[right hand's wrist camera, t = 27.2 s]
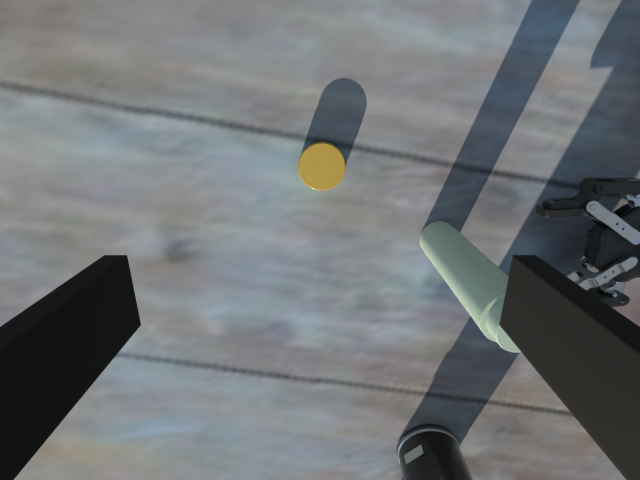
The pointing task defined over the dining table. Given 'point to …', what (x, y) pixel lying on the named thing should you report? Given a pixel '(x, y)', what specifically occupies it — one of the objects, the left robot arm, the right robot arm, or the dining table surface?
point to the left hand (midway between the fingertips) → (534, 249)
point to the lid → (321, 166)
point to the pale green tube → (469, 278)
